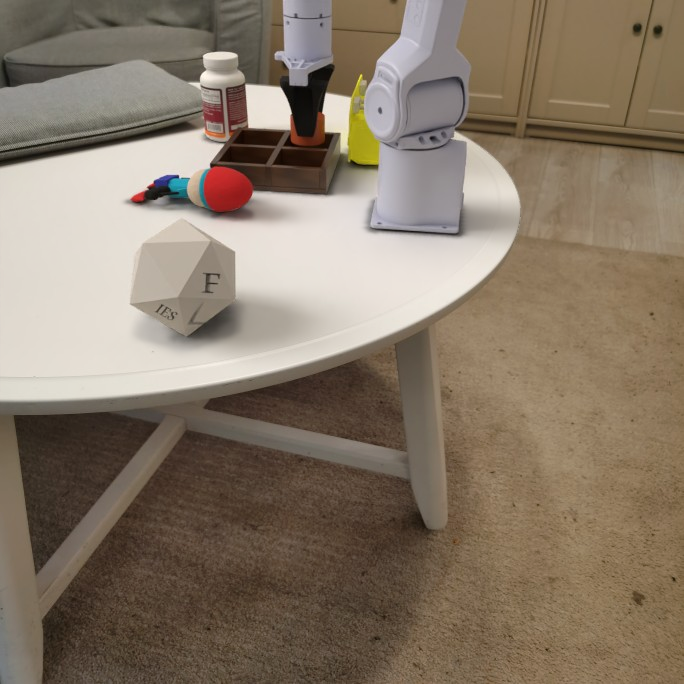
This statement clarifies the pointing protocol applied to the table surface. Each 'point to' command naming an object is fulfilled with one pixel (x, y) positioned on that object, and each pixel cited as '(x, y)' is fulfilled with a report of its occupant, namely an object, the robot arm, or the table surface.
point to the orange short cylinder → (310, 141)
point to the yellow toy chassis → (361, 130)
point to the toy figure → (203, 189)
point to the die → (183, 277)
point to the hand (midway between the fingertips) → (308, 129)
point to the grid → (280, 160)
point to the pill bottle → (223, 96)
